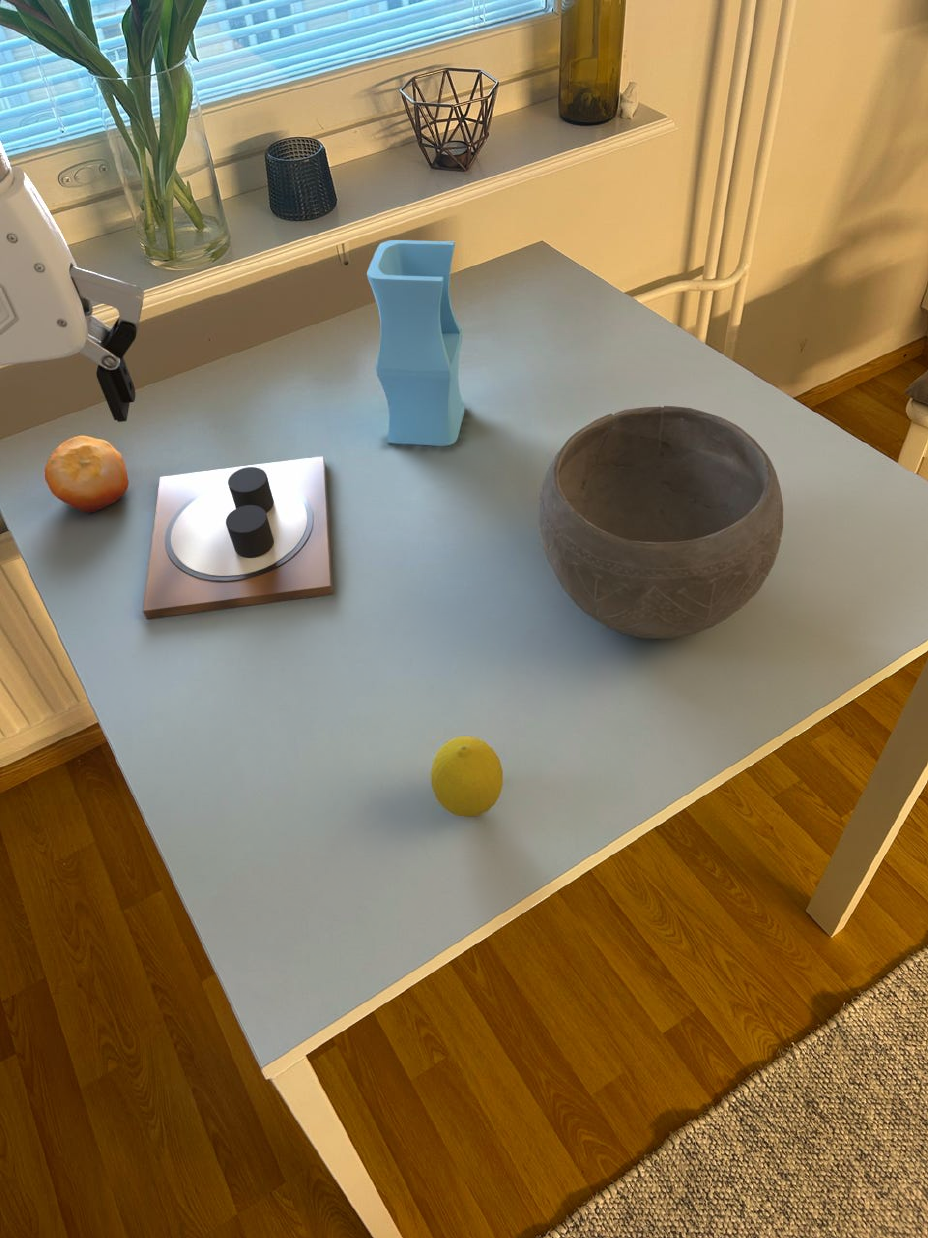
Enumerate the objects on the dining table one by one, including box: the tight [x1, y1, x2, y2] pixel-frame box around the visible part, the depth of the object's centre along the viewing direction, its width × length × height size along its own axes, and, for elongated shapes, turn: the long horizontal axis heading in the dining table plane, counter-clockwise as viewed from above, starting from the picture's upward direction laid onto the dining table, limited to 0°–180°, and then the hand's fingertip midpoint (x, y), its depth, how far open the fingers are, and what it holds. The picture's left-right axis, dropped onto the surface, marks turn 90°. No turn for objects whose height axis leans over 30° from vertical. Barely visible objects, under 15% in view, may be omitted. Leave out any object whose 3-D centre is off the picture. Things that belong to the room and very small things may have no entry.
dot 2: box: [226, 505, 274, 558], centre depth 93 cm, size 4×4×4 cm
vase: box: [366, 239, 466, 447], centre depth 100 cm, size 8×8×20 cm
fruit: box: [44, 435, 130, 514], centre depth 100 cm, size 8×8×8 cm
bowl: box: [538, 405, 784, 640], centre depth 83 cm, size 21×21×15 cm
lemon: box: [430, 735, 504, 818], centre depth 72 cm, size 6×6×8 cm
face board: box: [142, 455, 333, 620], centre depth 96 cm, size 18×20×1 cm
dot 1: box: [228, 467, 274, 513], centre depth 97 cm, size 4×4×4 cm
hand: (53, 418), depth 64 cm, fingers open, 9 cm apart
